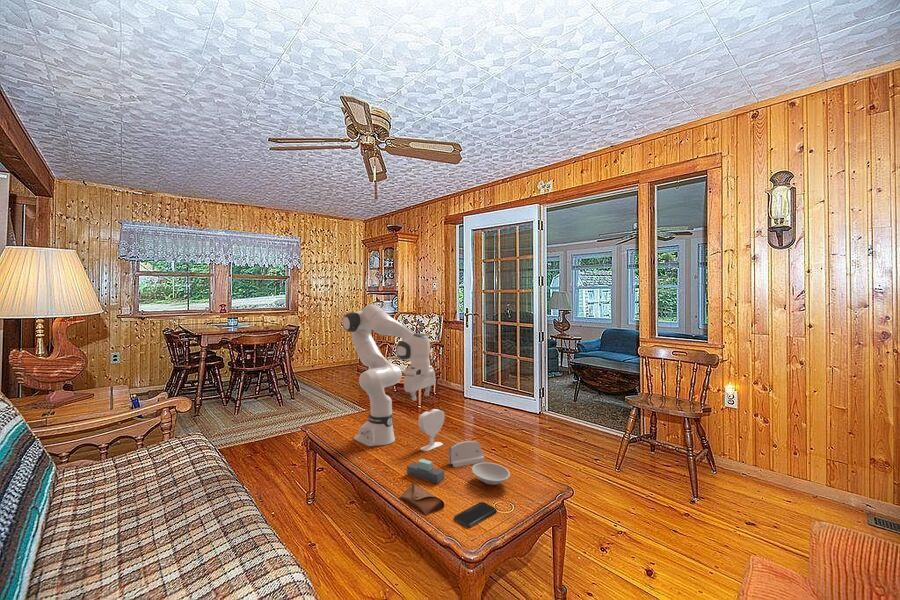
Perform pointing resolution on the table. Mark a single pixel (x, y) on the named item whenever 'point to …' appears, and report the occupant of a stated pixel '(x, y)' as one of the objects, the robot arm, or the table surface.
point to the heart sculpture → (431, 426)
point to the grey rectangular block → (425, 473)
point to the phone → (475, 514)
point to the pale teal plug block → (425, 465)
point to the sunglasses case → (422, 499)
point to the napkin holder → (465, 454)
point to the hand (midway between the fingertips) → (420, 397)
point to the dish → (491, 473)
